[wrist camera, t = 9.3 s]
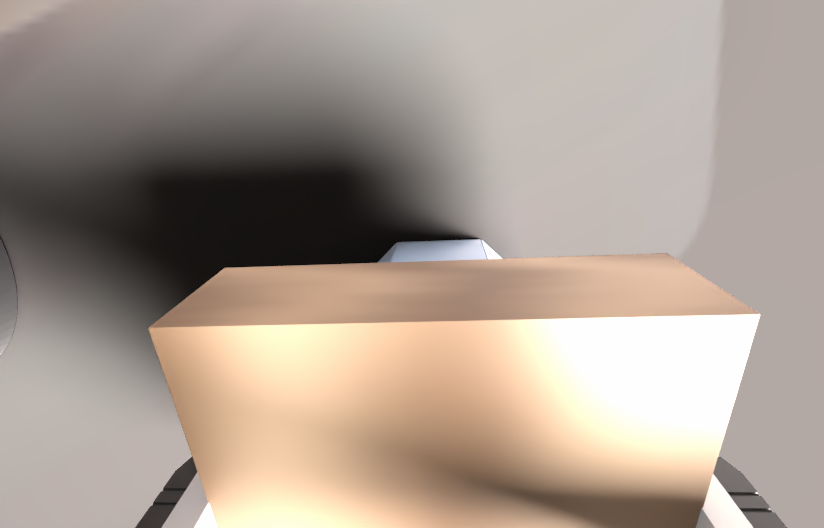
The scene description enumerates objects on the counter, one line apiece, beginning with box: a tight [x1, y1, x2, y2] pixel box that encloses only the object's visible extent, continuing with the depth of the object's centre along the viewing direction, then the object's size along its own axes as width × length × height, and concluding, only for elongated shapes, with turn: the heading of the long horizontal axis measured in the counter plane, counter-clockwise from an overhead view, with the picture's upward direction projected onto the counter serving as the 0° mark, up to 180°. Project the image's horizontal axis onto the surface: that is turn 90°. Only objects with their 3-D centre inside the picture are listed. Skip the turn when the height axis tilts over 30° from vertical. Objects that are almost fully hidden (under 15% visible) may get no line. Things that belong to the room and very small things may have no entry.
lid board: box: [148, 253, 760, 528], centre depth 11 cm, size 11×12×3 cm
